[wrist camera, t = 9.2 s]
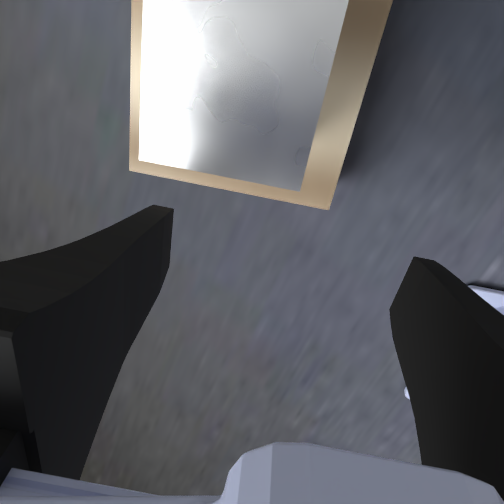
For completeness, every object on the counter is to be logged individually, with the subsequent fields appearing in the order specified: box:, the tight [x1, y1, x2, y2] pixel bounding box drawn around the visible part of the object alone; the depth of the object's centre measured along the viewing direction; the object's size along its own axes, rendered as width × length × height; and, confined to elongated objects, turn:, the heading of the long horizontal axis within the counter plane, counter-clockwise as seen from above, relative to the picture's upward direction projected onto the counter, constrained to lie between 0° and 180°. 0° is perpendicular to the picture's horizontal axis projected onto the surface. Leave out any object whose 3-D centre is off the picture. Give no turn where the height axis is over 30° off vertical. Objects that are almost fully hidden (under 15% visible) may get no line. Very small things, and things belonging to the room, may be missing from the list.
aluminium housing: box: [139, 0, 349, 192], centre depth 12 cm, size 9×5×5 cm, turn 170°
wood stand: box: [129, 0, 393, 210], centre depth 16 cm, size 14×9×3 cm, turn 170°
